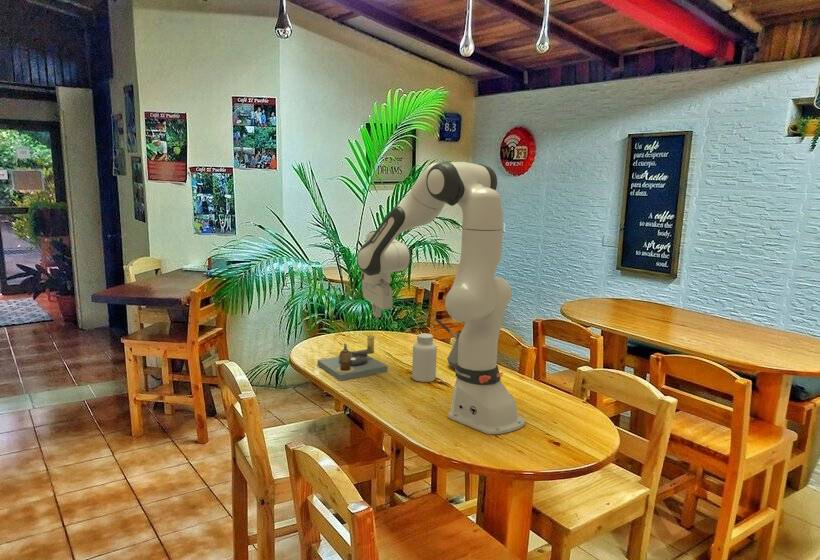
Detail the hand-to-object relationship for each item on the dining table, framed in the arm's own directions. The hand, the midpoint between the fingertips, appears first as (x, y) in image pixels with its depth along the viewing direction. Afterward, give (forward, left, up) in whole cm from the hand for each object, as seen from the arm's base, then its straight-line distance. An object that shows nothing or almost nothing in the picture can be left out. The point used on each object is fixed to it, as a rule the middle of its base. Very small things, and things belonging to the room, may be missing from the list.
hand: (377, 316), depth 197 cm
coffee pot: (-11, -26, -19) cm, 34 cm away
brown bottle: (-2, +13, -16) cm, 21 cm away
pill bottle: (-18, -8, -19) cm, 27 cm away
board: (+3, +8, -19) cm, 20 cm away
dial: (+4, +5, -16) cm, 18 cm away
